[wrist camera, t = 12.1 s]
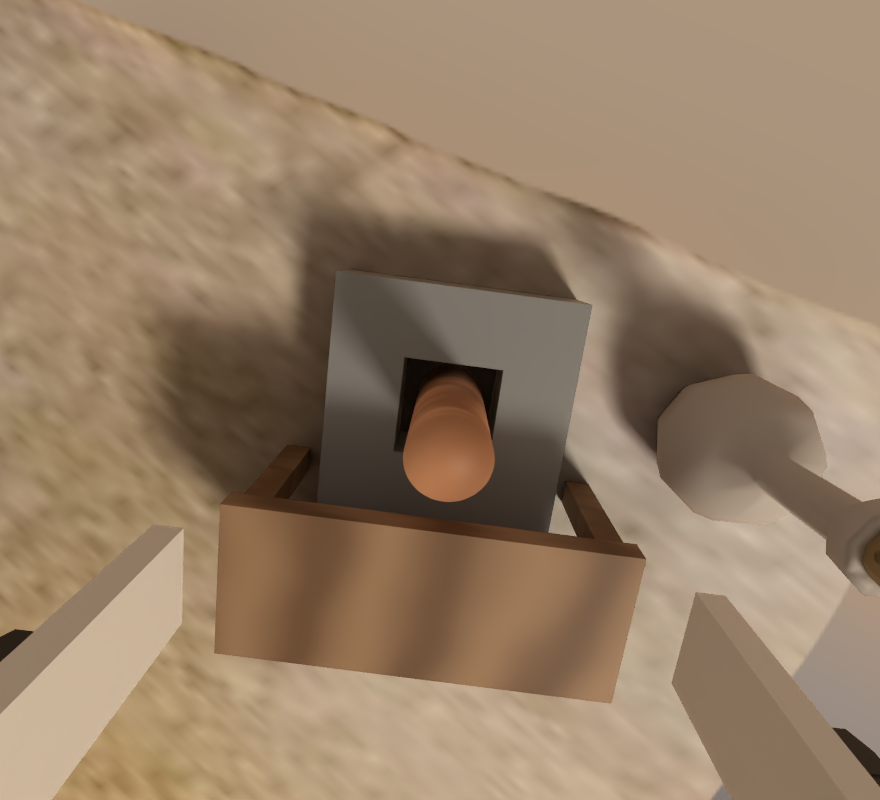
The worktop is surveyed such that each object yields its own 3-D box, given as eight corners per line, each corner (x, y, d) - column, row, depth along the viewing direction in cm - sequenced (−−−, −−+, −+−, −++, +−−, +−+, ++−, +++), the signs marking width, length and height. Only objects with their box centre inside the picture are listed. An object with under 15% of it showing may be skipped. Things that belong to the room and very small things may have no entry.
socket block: (330, 482, 38) (316, 507, 34) (349, 269, 35) (336, 270, 31) (537, 509, 38) (547, 537, 34) (576, 299, 35) (592, 305, 31)
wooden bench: (272, 556, 40) (214, 653, 30) (280, 440, 38) (220, 504, 28) (572, 594, 40) (611, 703, 30) (596, 481, 38) (646, 559, 28)
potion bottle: (762, 499, 38) (1027, 707, 20) (629, 485, 38) (779, 681, 20) (795, 370, 36) (1122, 478, 18) (654, 355, 36) (846, 450, 18)
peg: (415, 420, 37) (398, 495, 25) (422, 360, 36) (408, 409, 24) (476, 428, 37) (487, 507, 25) (485, 368, 36) (501, 421, 24)
